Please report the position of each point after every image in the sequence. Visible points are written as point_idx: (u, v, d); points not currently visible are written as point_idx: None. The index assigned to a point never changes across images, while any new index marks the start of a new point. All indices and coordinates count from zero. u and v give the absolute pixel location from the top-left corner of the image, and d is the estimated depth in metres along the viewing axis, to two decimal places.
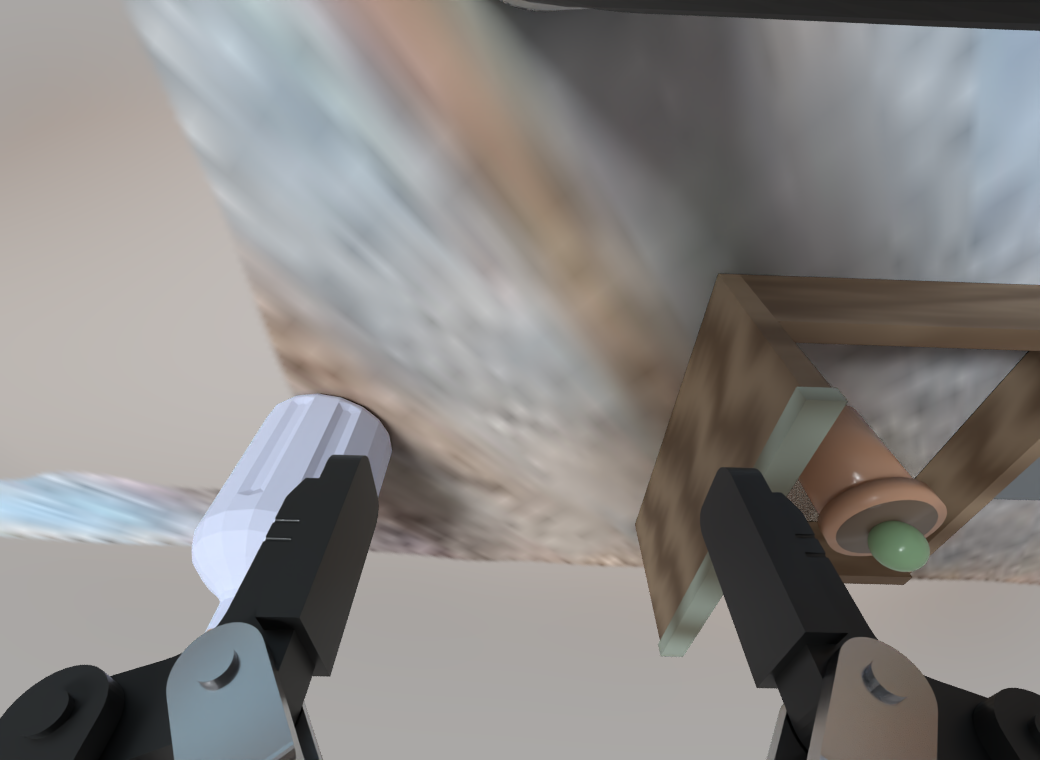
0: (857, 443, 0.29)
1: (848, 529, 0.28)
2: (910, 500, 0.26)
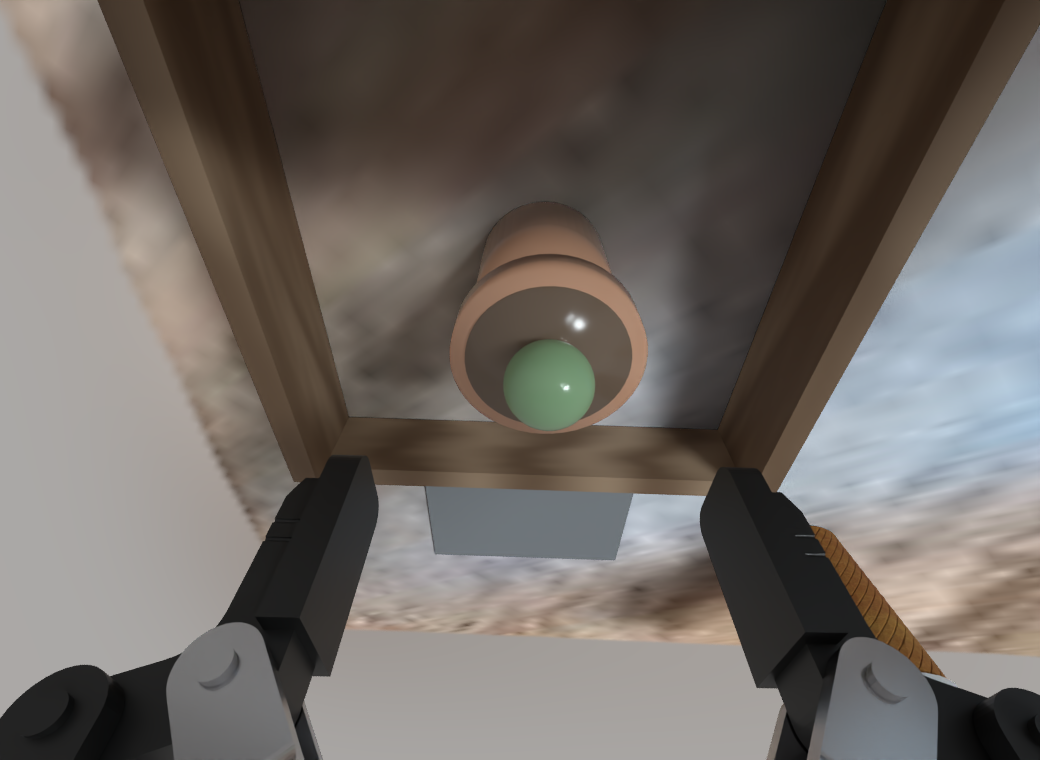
0: None
1: (546, 303, 0.14)
2: (631, 365, 0.15)
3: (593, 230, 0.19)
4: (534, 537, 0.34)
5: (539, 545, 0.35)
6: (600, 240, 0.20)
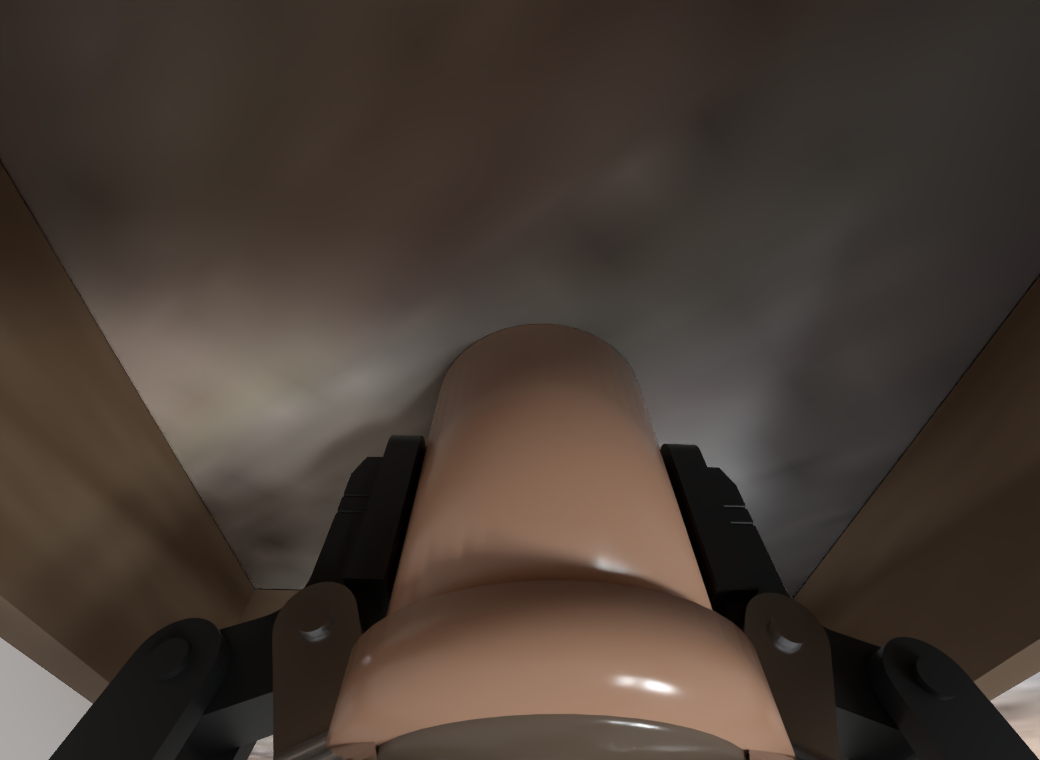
0: None
1: (552, 739, 0.05)
2: None
3: (628, 377, 0.11)
4: None
5: None
6: (638, 386, 0.12)
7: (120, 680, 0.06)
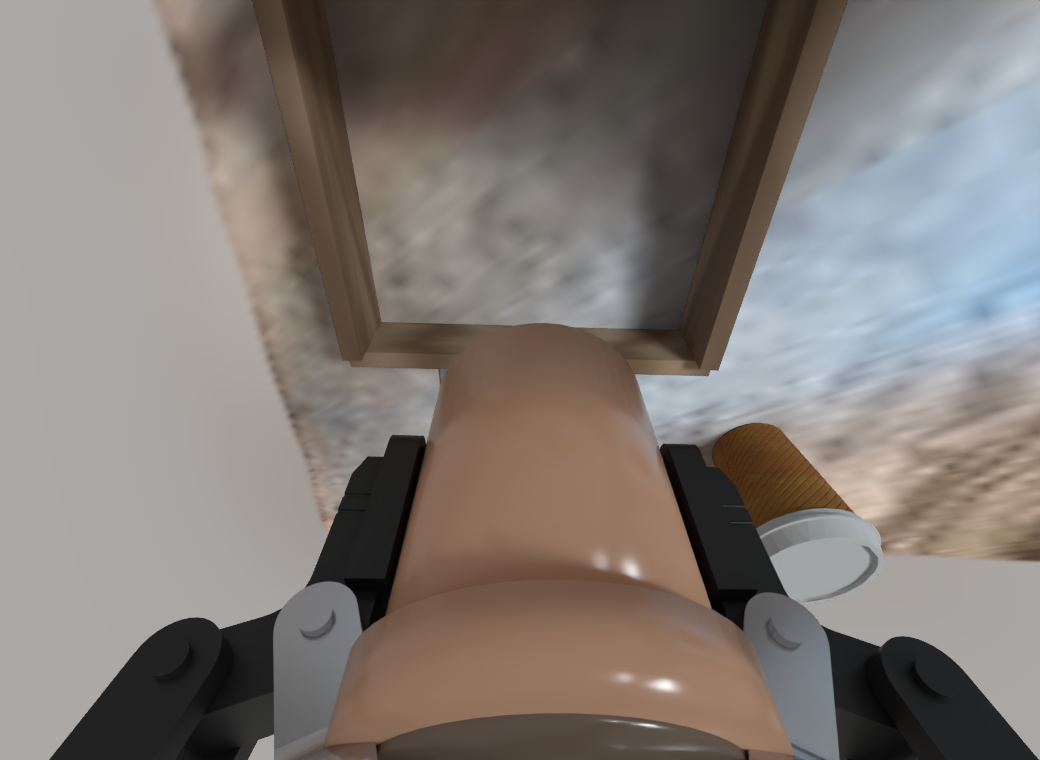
0: None
1: (551, 739, 0.05)
2: None
3: (628, 376, 0.11)
4: None
5: None
6: (638, 386, 0.12)
7: (122, 679, 0.06)
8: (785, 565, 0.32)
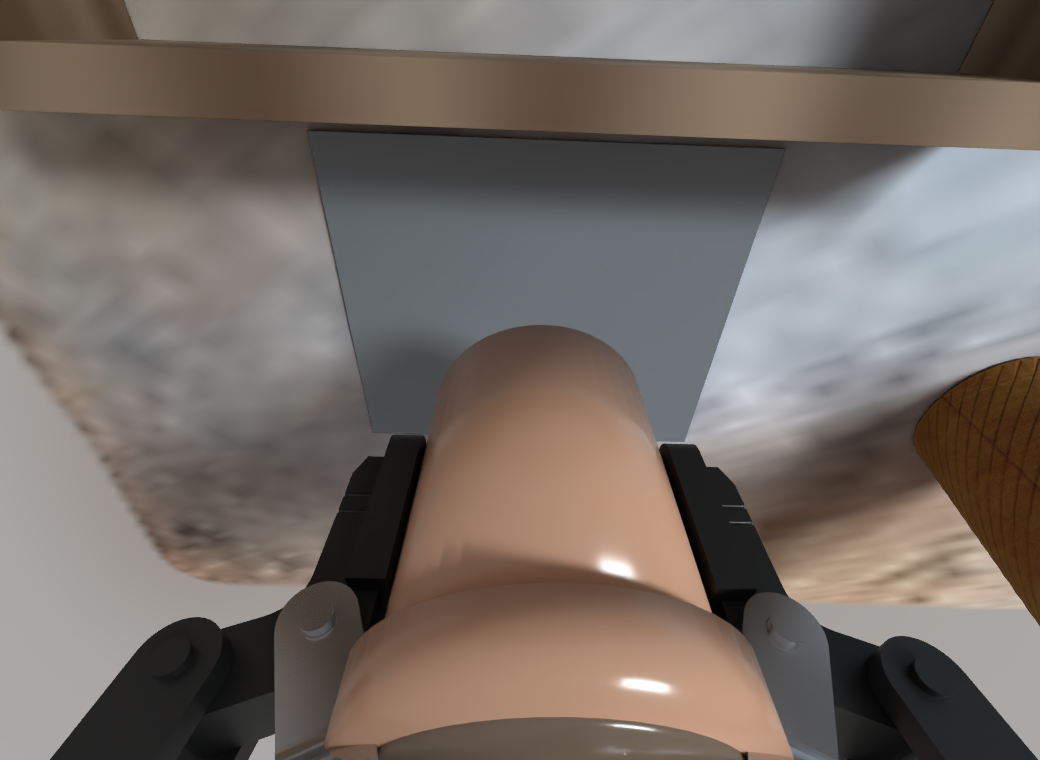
0: None
1: (551, 742, 0.05)
2: None
3: (628, 378, 0.11)
4: None
5: None
6: (638, 387, 0.12)
7: (122, 680, 0.06)
8: None
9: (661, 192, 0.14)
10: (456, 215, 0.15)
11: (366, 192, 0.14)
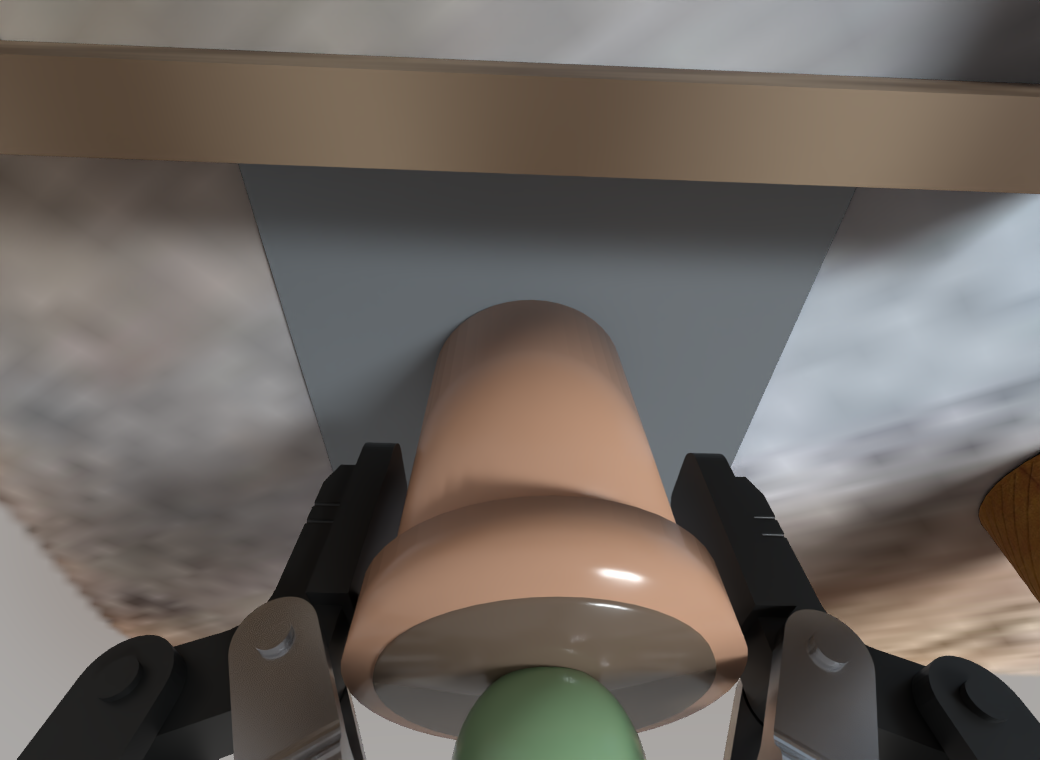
0: None
1: (540, 623, 0.06)
2: (709, 683, 0.07)
3: (609, 347, 0.12)
4: None
5: None
6: (618, 357, 0.13)
7: (66, 707, 0.06)
8: None
9: (695, 235, 0.11)
10: (435, 263, 0.12)
11: (318, 236, 0.11)
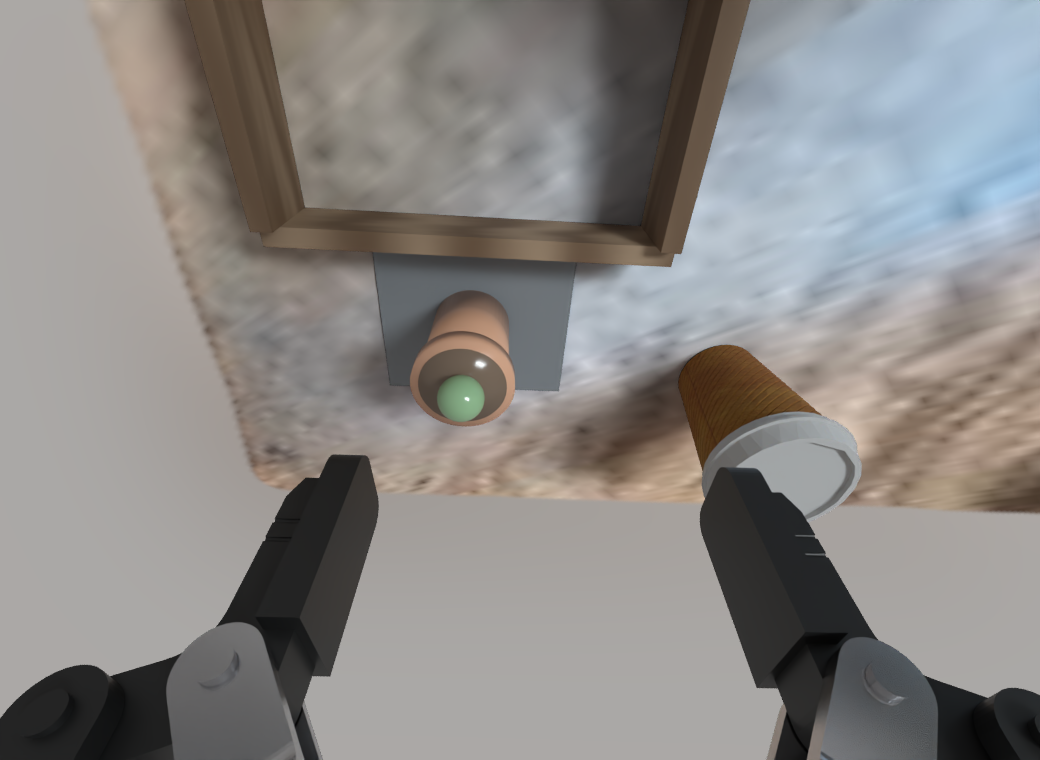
0: (508, 344, 0.31)
1: (458, 357, 0.27)
2: (506, 387, 0.28)
3: (499, 307, 0.33)
4: None
5: None
6: (504, 312, 0.33)
7: None
8: None
9: (527, 268, 0.32)
10: (436, 276, 0.32)
11: (395, 266, 0.32)
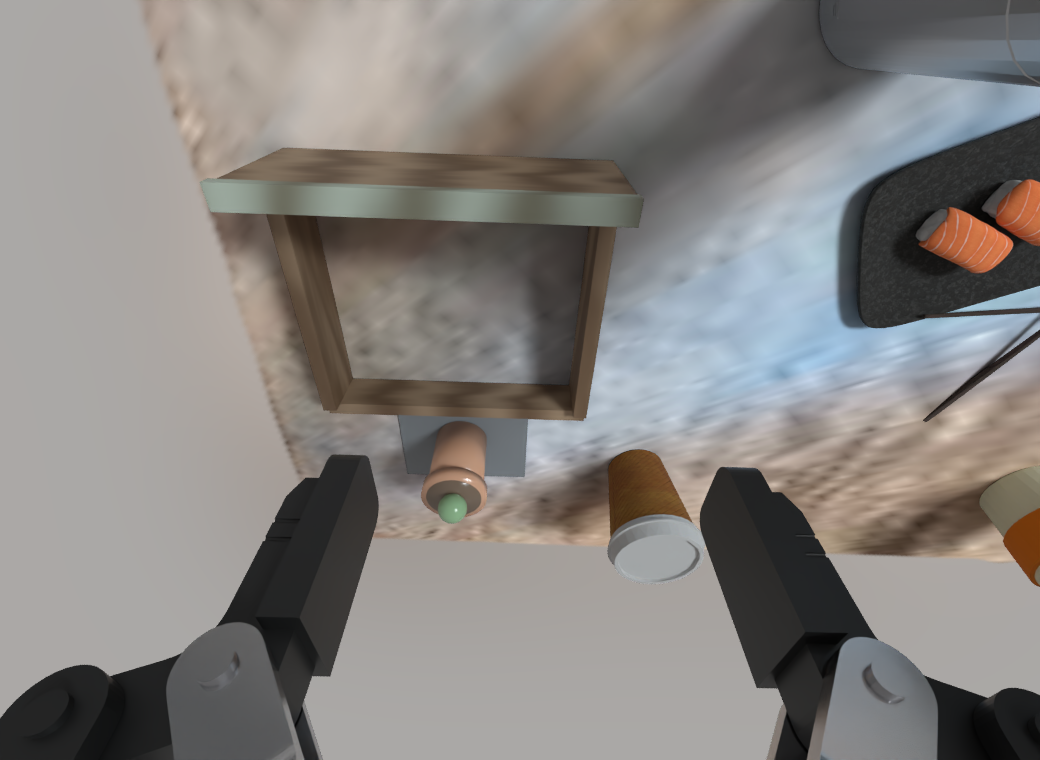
0: (483, 460, 0.48)
1: (449, 484, 0.44)
2: (481, 498, 0.45)
3: (478, 432, 0.49)
4: None
5: None
6: (482, 434, 0.50)
7: None
8: (637, 554, 0.45)
9: None
10: None
11: None
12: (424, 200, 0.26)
